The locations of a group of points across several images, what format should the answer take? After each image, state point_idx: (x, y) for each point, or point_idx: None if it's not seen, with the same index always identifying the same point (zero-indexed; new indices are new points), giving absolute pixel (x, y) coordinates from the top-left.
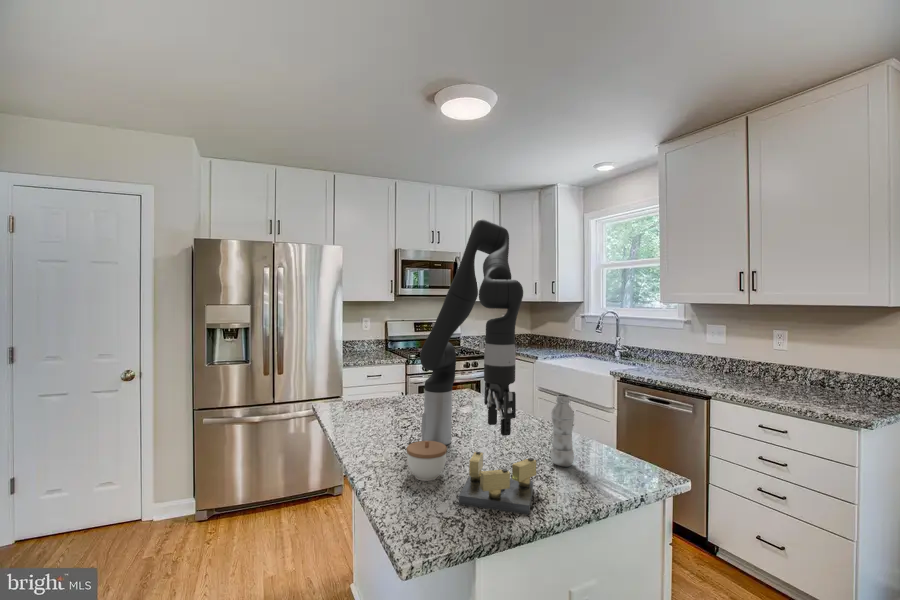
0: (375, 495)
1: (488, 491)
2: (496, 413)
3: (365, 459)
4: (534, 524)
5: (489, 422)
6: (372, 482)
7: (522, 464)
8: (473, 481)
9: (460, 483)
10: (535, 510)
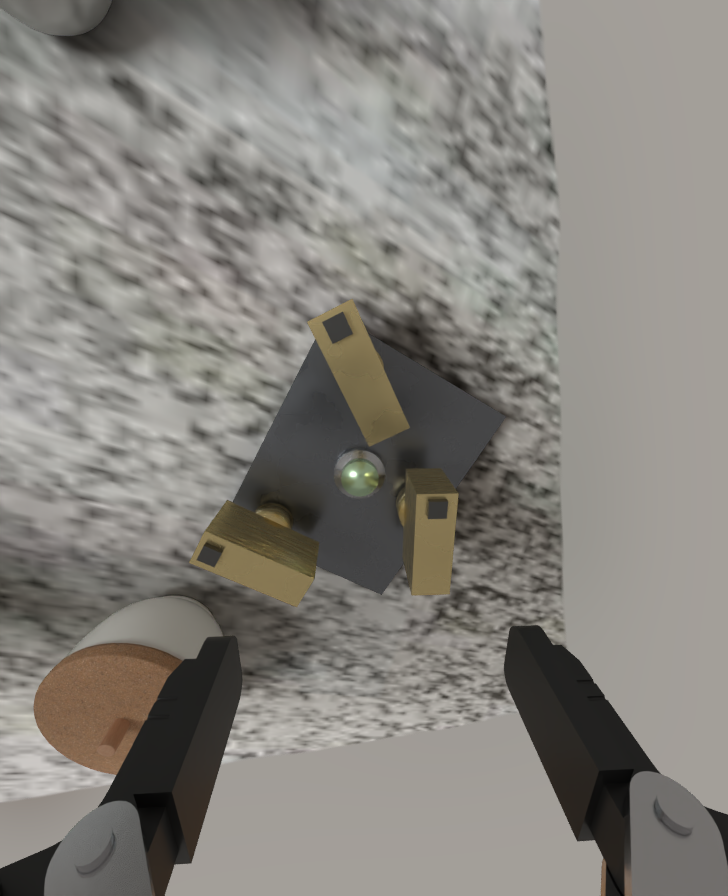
0: (287, 736)
1: (376, 508)
2: (194, 743)
3: (41, 755)
4: (547, 418)
5: (237, 703)
6: None
7: (384, 399)
8: None
9: None
10: (477, 378)
